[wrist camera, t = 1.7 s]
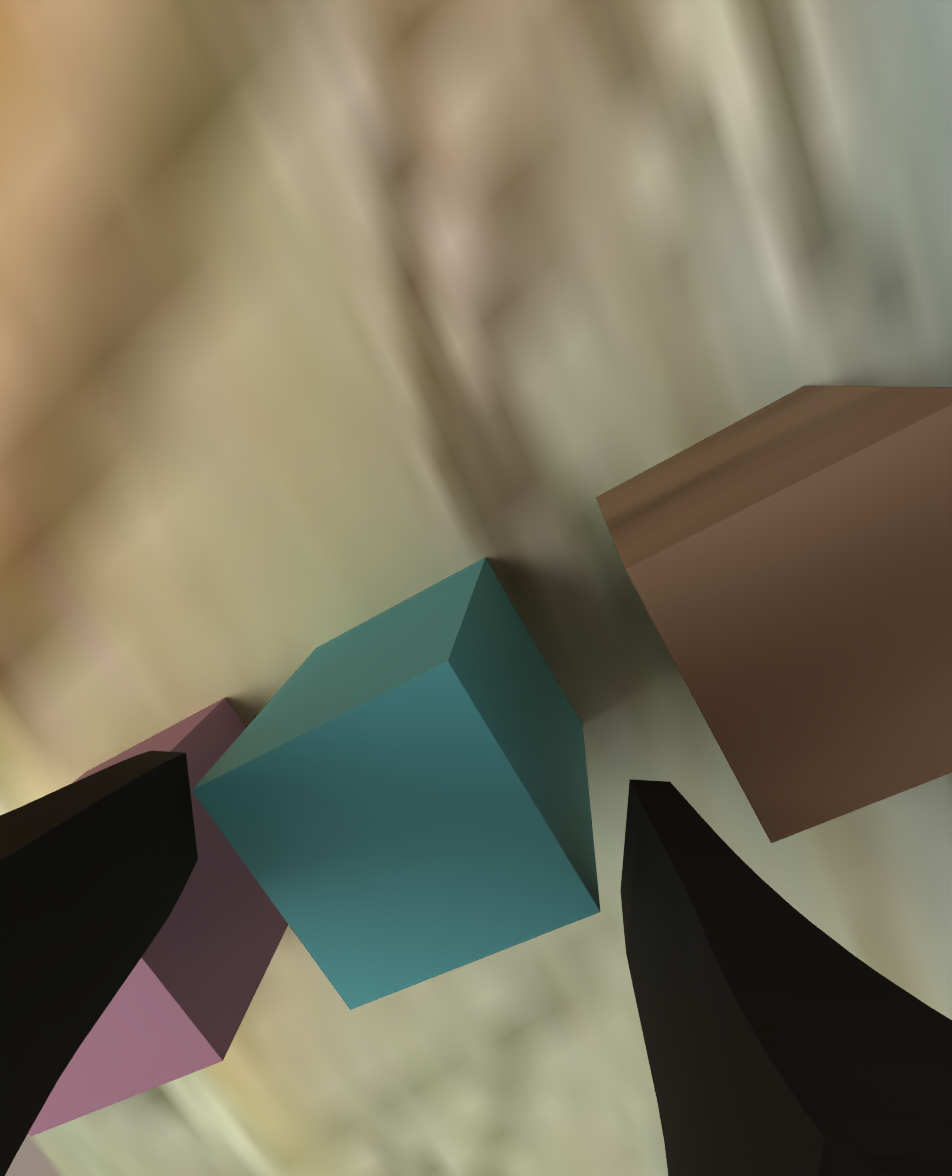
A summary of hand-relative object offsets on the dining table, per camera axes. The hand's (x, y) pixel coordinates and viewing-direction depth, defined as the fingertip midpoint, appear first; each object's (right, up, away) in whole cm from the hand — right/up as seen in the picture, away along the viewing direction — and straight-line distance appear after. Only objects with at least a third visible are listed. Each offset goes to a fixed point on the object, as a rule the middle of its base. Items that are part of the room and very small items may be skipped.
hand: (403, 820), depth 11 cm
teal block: (+1, +1, +5) cm, 5 cm away
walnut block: (+7, +5, +3) cm, 9 cm away
